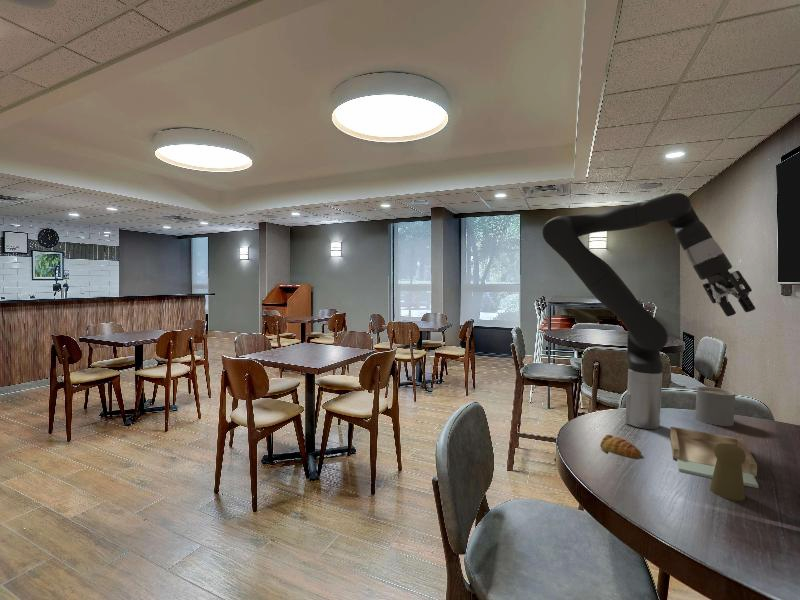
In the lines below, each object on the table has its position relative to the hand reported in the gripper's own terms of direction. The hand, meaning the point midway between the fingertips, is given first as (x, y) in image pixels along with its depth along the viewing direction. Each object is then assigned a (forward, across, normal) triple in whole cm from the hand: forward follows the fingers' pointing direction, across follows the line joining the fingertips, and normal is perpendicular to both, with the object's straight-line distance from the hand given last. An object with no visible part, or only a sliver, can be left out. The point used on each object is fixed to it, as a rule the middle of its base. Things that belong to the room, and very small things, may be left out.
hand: (741, 313), depth 107 cm
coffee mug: (+31, -36, -5) cm, 48 cm away
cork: (+32, +17, -30) cm, 48 cm away
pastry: (+22, -1, -43) cm, 49 cm away
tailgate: (+30, +5, -26) cm, 41 cm away
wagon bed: (+30, -4, -23) cm, 38 cm away
